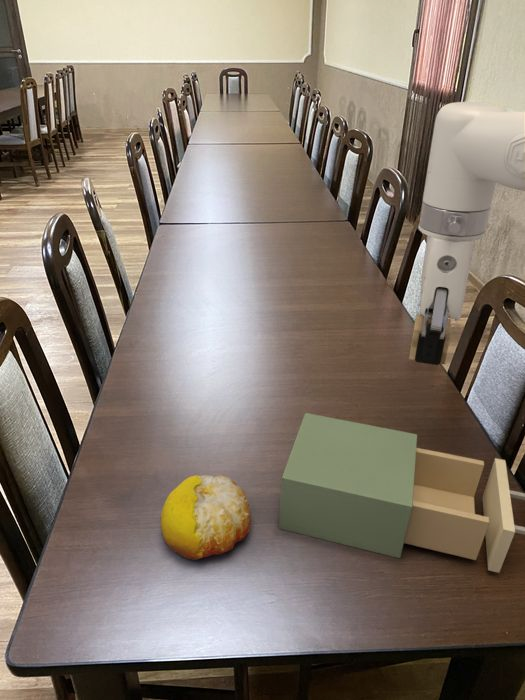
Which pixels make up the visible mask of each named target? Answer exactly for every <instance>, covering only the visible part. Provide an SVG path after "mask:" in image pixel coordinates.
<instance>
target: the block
mask: <svg viewBox="0 0 525 700" xmlns="http://www.w3.org/2000/svg"><path fill="white" fill-rule="evenodd" d="M431 320H432V319H430V318H429V319H428V324H429V323H431ZM423 321H424V316H423V315H422V314H415V319H414V323H413V331H412V337H411V342H410V349H409V357H408V360H411V361H415V355H416V349H417V343H418V338H419V333H422V327H423ZM444 337H445V343H444V348H443V353H442V357H441V362H440V364H439V365H446V360H447V355H448V351H449V345H450V342H451V337H452V319H451V318H448V319H447V325H446V330H445V336H444Z"/></svg>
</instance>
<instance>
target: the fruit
mask: <svg viewBox="0 0 525 700" xmlns="http://www.w3.org/2000/svg"><path fill="white" fill-rule="evenodd" d="M249 506H250V504H249V503H248V498H247V496H246V493H245V490H244V489H242V487H240V486H239V485H238V483H236V482H235V480H234V479H232V478H230V477H228V476H227V475H223V474H218V475H216V476H213V475H208V474H203V475H198V474H197V475H191V476H189V477H187V478H185V479H184V480H183V481H182V482H180V484H179V485H177V486H176V487H175V488H174V489H173V490H172V491H170V493H169V495H168V496H167V498H166V500H165V501H164V504H163V507H162V510H161V513H160V528H161V534H162V537H163V539H164V542H165V543H166V545H168V547H169V548H170V549H171V550H172V551H173V552H175V553H176V554H179V555H180V556H182V557H184V558H185V559H188V560H189V561H195V560H199V559H202V558H207V557H210V556H220V555H222V554H225V553H226V552H230V551H231V550H232V551H233V550H234V547H235V544H236V543H239V542H240V541H243V540H245V538H246V537H247V536H248V534H249V532H250V527H251V523H252V522H251V521H252V517H251V510H250V509H249Z"/></svg>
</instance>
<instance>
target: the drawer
mask: <svg viewBox="0 0 525 700" xmlns="http://www.w3.org/2000/svg"><path fill="white" fill-rule="evenodd" d="M484 467H485V461H484V460H480V459H475V458H471V457H465V456H460V455H455V454H451V453H445V452H440V451H436V450H432V449H431V450H429V449H425V448H420V447H416V460H415V475H414V489H413V504H412V510H411V514H410V519H409V523H408V527H407V531H406V536H405V540H404V544H407V545H411V546H415V547H418V548H423V549H427V550H431V551H436V552H439V553H444V554H449V555H452V556H457V557H461V558H465V559H469V560H473V561H477V558H478V556H479V553H480V551H481V547H482V545H483V542H484V539H485V548H486V561H487V562H486V563H487V570H488V571H490V572H494V573H498V574H499V573H500V572H501V569H502V567H503V564H504V562H505V559H506V557H507V554H508V552H509V549H510V546H511V544H512V542H513V539H514V536H515V534H520V535H524V536H525V526H521V525H518V524H515V521H514V520H515V519H514V514H513V506H512V499H517V500H522V501H525V492H521V491H517V490H510V485H509V477H508V469H507V462H506V459H501V458H497V457H495V458H494V460H493V462H492V466H491V469H490V473H489V475H488V479H487V482H486V484H485V488H484V491H483V494H482V499H481V500H482V510H483V511H482V512H483V515H481V514H476V509H475V507H476V506H475V496H476V492H477V489H478V486H479V482H480V479H481V476H482V474H483V470H484ZM511 498H512V499H511Z"/></svg>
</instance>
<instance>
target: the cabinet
mask: <svg viewBox="0 0 525 700" xmlns="http://www.w3.org/2000/svg"><path fill="white" fill-rule="evenodd" d="M417 445H418V433H412V432H406V431H402V430H397V429H392V428H386V427H381V426H377V425H370V424H366V423H360V422H356V421H351V420H345V419H340V418H334V417H330V416H324V415H318V414H314V413H308V412H304V414H303V418H302V421H301V424H300V426H299V429H298V432H297V434H296V437H295V439H294V443H293V445H292V449H291V451H290V454H289V456H288V459H287V462H286V465H285V468H284V471H283V473H282V476H281V485H280V500H279V501H280V505H279V507H280V508H279V522H278V529H280V530H283V531H287V532H292V533H294V534H295V533H296V534H299V535H303V536H307V537H312V538H316V539H320V540H323V541H328V542H332V543H336V544H339V545H343V546H344V545H345V546H348V547H352V548H356V549H362V550H364V551H368V552H373V553H377V554H381V555H384V556H389V557H393V558H396V559H401V557H402V553H403V549H404V544H405V543H404V540H405V536H406V531H407V527H408V523H409V519H410V514H411V510H412V504H413V489H414V475H415V460H416V448H417Z"/></svg>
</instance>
